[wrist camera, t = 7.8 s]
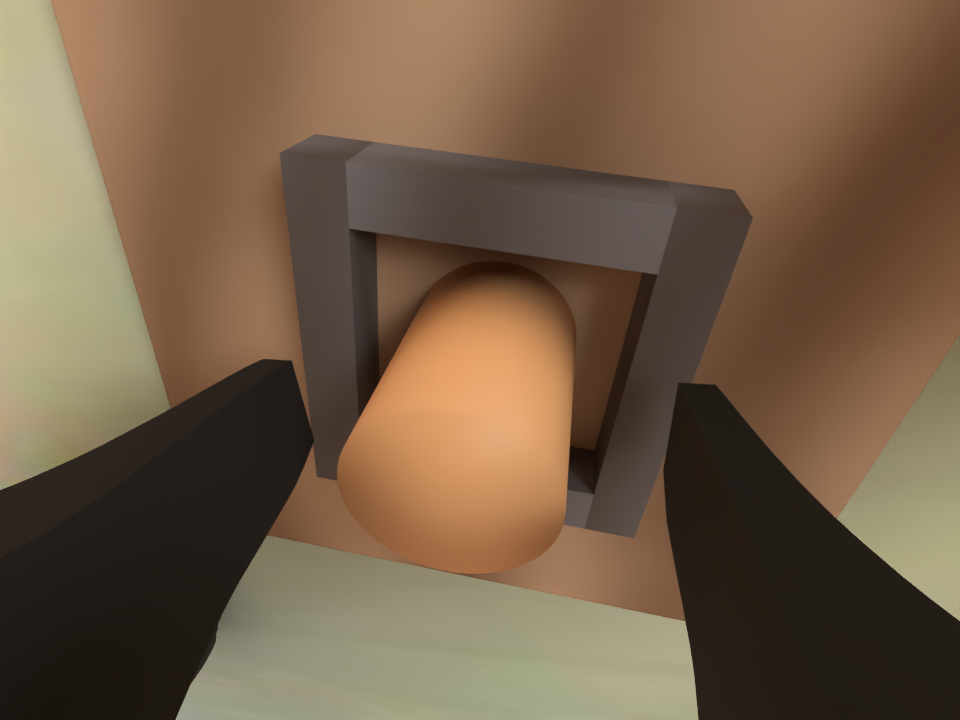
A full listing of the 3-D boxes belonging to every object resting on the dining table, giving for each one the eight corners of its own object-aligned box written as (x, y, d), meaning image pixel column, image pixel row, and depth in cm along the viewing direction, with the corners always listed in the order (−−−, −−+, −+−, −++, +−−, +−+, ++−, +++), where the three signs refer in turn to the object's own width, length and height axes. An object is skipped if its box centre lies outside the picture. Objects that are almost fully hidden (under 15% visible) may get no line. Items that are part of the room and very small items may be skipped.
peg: (580, 263, 11) (571, 417, 7) (573, 402, 13) (561, 585, 9) (410, 258, 12) (315, 399, 8) (427, 393, 14) (357, 560, 10)
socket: (1214, -143, 8) (1436, -189, 6) (750, 606, 18) (769, 686, 16) (31, -229, 9) (-126, -287, 7) (221, 499, 20) (176, 559, 18)
